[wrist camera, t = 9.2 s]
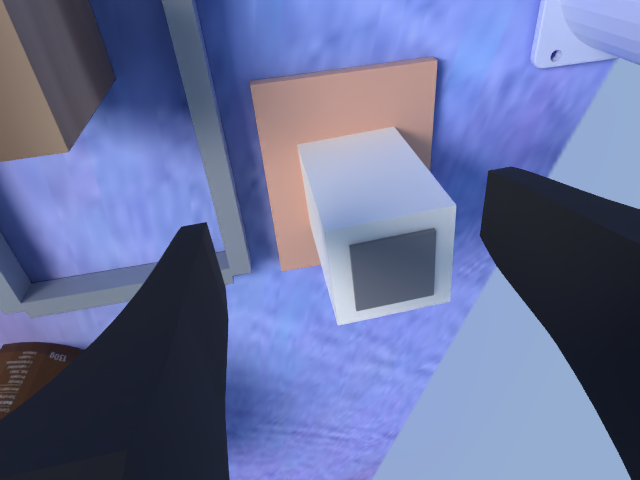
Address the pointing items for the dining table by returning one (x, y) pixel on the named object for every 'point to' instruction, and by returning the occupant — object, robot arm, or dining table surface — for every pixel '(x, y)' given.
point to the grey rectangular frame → (122, 284)
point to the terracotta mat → (334, 131)
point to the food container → (29, 370)
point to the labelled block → (378, 224)
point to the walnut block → (48, 75)
